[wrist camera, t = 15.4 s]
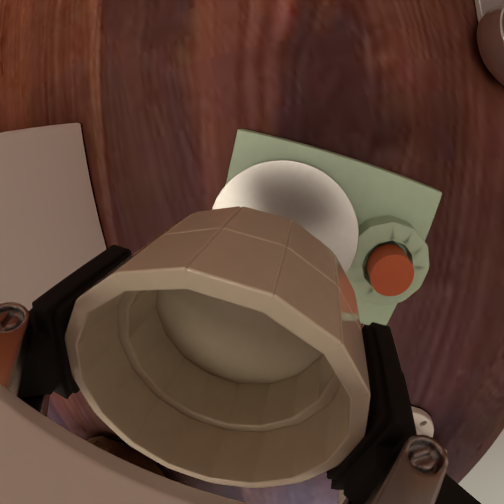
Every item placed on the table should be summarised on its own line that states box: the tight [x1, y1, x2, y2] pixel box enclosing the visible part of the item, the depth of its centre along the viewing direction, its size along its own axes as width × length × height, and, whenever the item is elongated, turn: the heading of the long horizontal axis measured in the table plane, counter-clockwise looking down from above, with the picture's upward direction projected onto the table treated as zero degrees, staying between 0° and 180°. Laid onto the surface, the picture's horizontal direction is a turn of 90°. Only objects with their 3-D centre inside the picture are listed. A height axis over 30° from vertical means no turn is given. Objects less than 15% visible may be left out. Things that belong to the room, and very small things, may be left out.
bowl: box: [65, 206, 371, 488], centre depth 8 cm, size 7×7×5 cm
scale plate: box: [212, 160, 359, 274], centre depth 19 cm, size 9×9×1 cm
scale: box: [226, 129, 442, 325], centre depth 21 cm, size 14×11×4 cm
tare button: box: [367, 244, 414, 296], centre depth 18 cm, size 3×3×2 cm
